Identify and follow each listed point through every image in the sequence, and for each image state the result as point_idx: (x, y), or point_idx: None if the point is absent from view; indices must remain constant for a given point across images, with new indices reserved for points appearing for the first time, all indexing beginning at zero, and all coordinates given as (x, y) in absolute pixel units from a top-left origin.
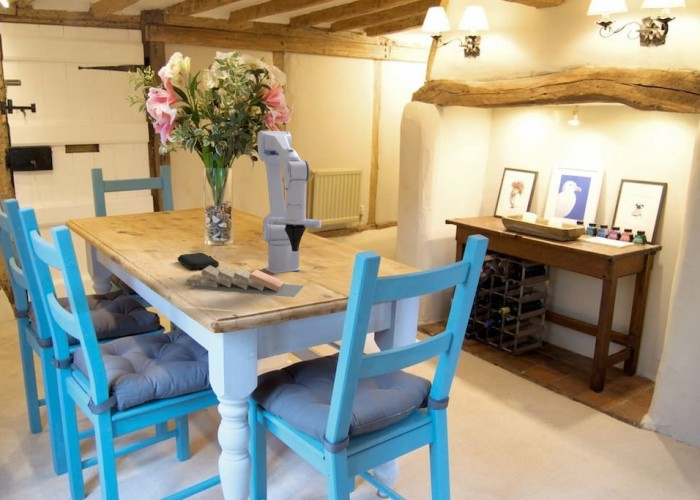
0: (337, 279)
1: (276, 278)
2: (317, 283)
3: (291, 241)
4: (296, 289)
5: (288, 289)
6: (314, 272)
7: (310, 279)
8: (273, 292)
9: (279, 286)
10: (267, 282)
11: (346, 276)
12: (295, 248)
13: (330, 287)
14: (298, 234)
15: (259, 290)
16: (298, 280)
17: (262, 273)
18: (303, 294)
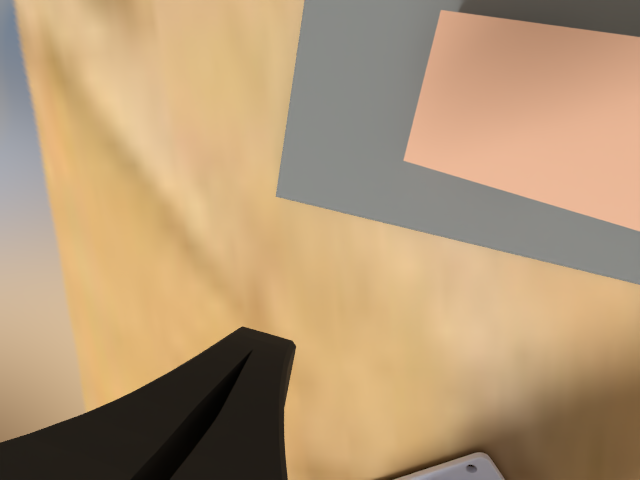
0: (114, 337)
1: (473, 180)
2: (206, 265)
3: (255, 415)
4: (317, 101)
5: (375, 95)
6: None
7: None
8: (492, 1)
9: (443, 19)
10: (562, 28)
11: (82, 386)
12: (236, 342)
13: (121, 185)
14: (17, 460)
15: None
16: (324, 326)
17: (620, 191)
18: (262, 6)
